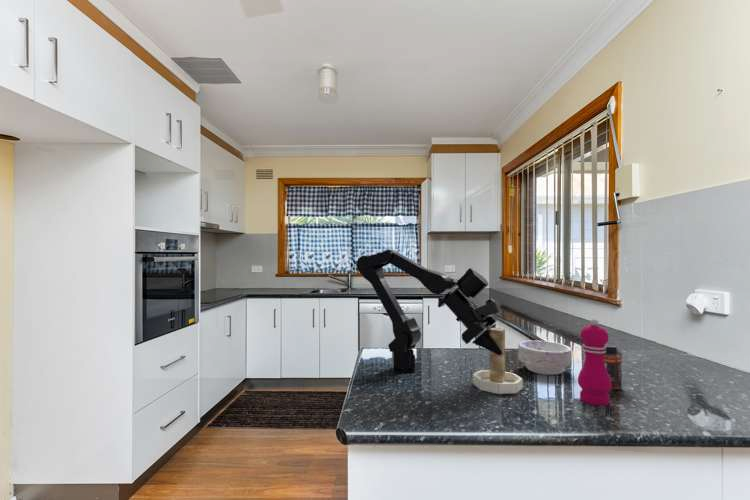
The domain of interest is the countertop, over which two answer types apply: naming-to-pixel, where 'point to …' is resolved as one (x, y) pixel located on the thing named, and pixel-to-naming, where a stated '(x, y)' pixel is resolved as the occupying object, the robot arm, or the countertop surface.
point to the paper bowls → (545, 356)
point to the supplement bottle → (613, 366)
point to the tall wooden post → (497, 356)
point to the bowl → (508, 386)
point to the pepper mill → (594, 366)
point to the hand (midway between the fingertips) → (502, 352)
